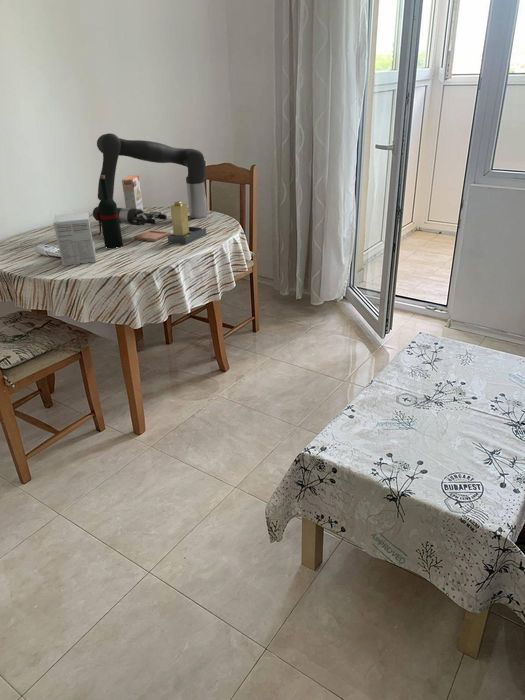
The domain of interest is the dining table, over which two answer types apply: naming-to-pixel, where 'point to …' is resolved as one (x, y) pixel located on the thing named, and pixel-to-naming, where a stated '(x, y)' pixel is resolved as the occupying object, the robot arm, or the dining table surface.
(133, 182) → the cracker box
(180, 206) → the tan tall block
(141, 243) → the dining table surface
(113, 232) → the wine bottle
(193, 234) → the grey tray with studs
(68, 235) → the supplement box
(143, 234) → the terracotta dish
